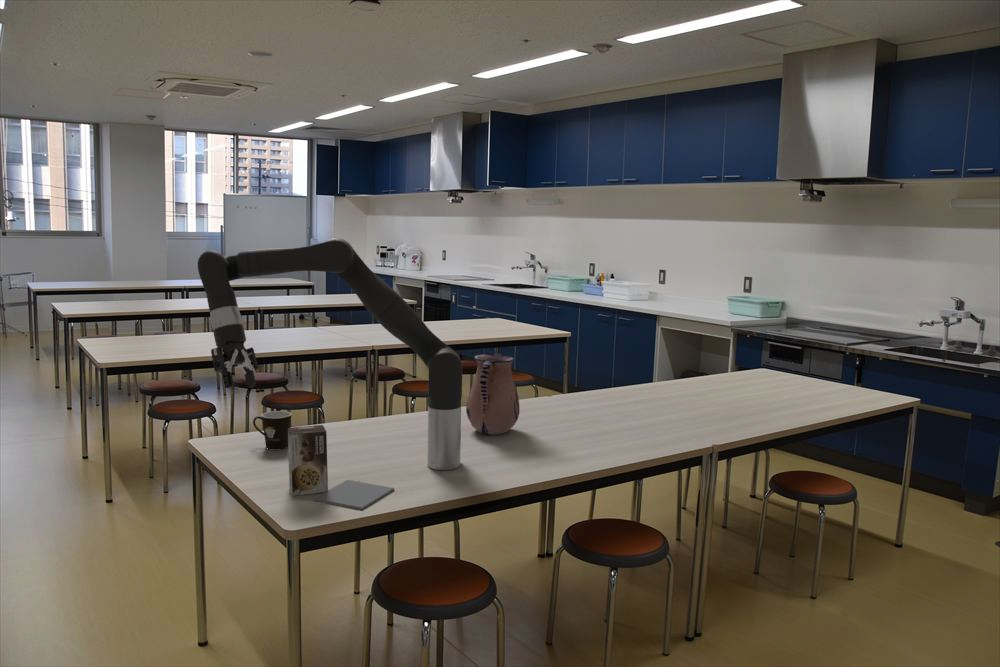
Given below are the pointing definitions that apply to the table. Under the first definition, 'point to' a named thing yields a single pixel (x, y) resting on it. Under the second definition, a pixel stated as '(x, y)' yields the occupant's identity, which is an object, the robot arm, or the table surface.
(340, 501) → the mat
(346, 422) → the table surface
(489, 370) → the ceramic pitcher
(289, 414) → the coffee mug
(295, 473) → the coffee box
